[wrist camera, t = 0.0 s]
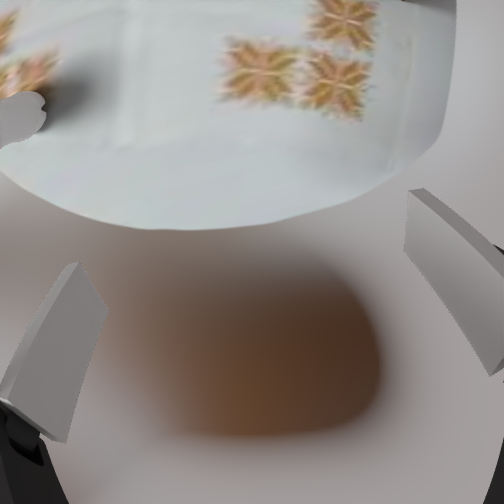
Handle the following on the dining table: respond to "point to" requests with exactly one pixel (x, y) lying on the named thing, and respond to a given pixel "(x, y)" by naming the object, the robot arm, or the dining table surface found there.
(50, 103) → the dining table surface
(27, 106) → the water bottle
